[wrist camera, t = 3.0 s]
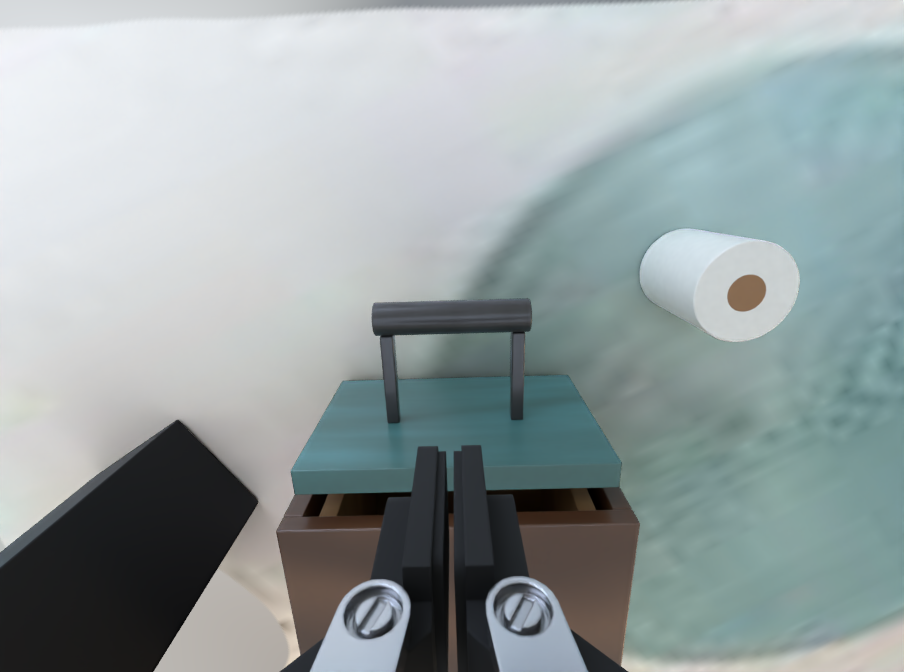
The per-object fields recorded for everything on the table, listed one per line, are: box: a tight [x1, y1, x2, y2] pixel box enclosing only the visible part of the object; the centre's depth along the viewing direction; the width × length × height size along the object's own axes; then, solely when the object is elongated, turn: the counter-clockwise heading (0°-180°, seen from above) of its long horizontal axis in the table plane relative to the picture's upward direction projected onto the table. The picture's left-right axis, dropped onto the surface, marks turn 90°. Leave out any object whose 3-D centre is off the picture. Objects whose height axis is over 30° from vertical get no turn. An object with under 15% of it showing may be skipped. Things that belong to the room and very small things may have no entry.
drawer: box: [291, 298, 622, 516], centre depth 23 cm, size 20×14×9 cm, turn 2°
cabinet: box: [276, 487, 640, 672], centre depth 25 cm, size 16×15×11 cm
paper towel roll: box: [639, 228, 800, 342], centre depth 22 cm, size 5×5×6 cm
